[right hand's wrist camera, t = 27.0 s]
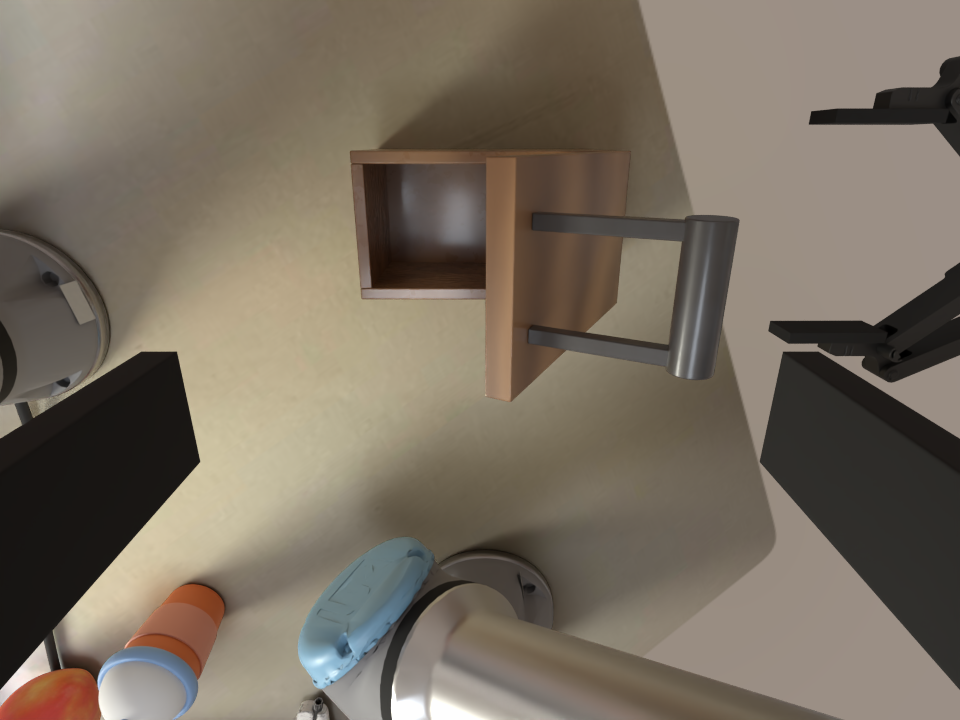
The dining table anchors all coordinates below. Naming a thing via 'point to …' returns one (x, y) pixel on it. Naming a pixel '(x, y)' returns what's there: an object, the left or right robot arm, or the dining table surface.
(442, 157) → the chest
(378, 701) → the left robot arm
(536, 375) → the lid
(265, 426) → the dining table surface
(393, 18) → the dining table surface
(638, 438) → the dining table surface
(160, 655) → the cup with straw
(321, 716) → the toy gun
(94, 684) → the apple
